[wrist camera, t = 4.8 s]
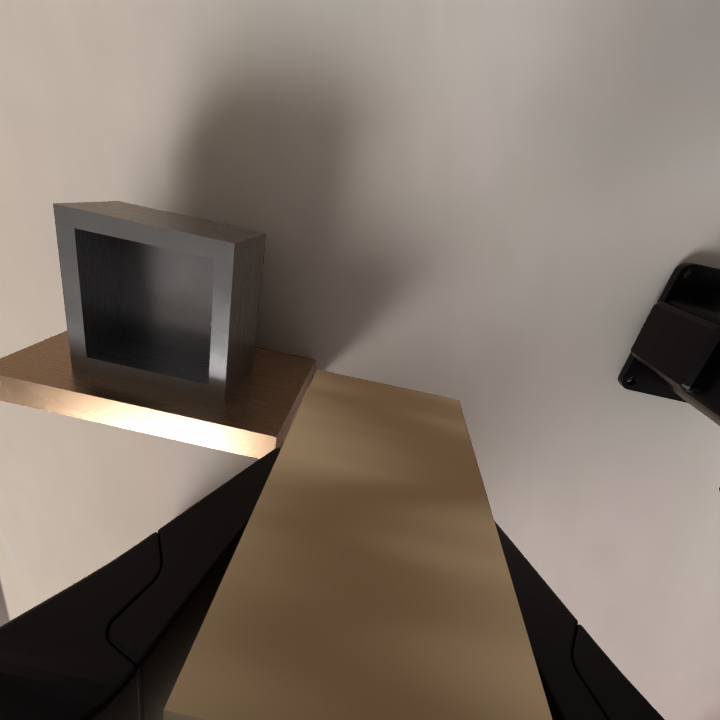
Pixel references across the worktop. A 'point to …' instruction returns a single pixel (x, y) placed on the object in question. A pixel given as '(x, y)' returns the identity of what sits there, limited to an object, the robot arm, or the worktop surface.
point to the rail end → (366, 578)
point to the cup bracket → (161, 333)
